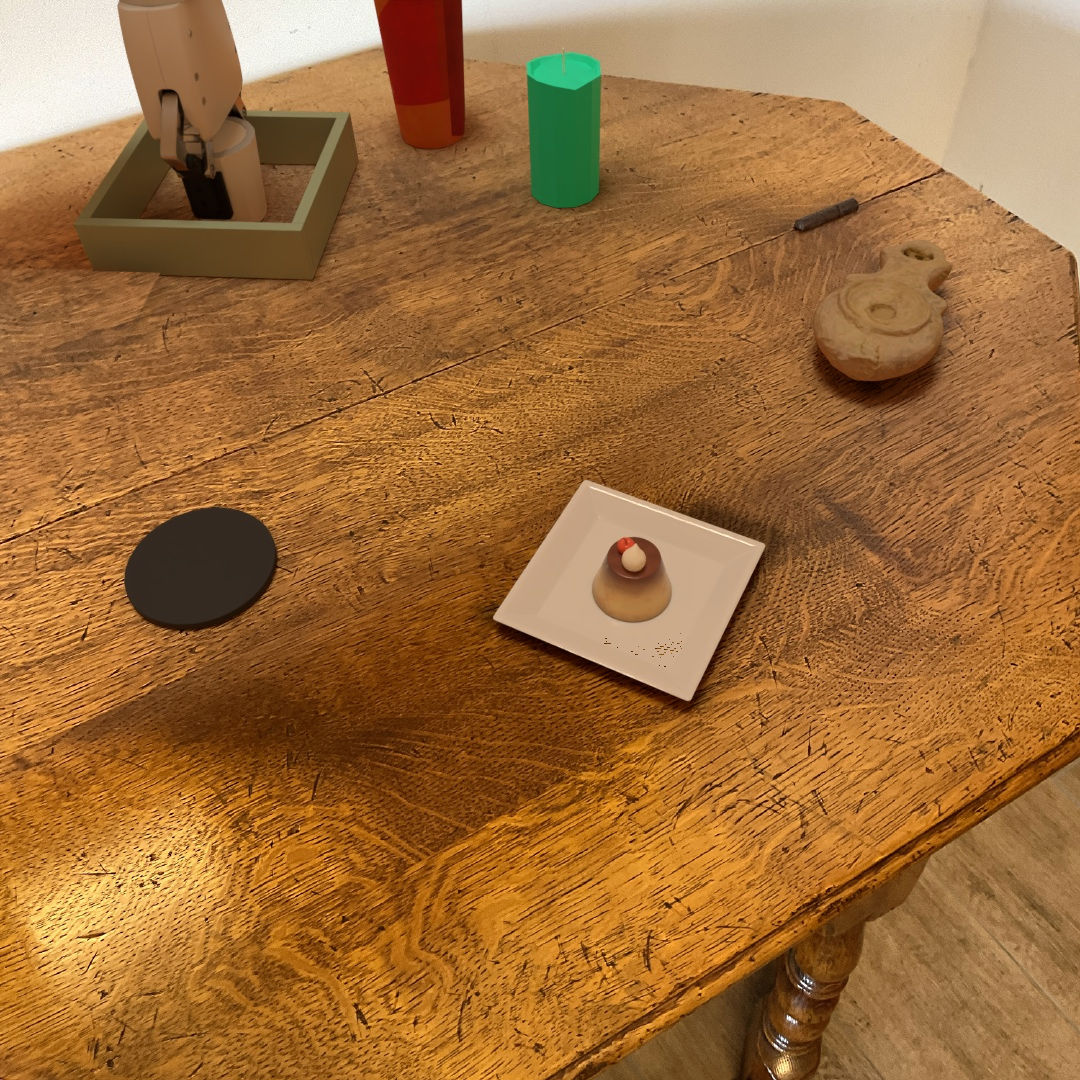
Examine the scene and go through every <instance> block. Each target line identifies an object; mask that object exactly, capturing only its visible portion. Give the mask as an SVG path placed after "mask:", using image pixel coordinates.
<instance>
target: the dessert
mask: <svg viewBox="0 0 1080 1080" xmlns="http://www.w3.org/2000/svg"><path fill="white" fill-rule="evenodd" d="M765 548H766V544H765V543H764V542H761V541H758V540H755V539H753V538H750V537H747V536H744V535H742V534H738V533H737V532H734V531H730V530H727V529H725V528H722V527H719V526H717V525H714V524H711V523H709V522H705V521H703V520H699V519H697V518H694V517H692V516H689V515H687V514H683V513H680V512H677V511H674V510H672V509H670V508H666V507H664V506H660V505H658V504H655V503H653V502H650V501H647V500H644V499H641V498H639V497H636V496H633V495H631V494H627V493H626V492H625V493H624V492H621V491H619V490H616V489H614V488H611V487H608V486H606V485H602V484H600V483H597V482H594V481H591V480H589V479H584V480H583V481H582V482H581V484H580V486H579V487H578V488H577V490H576V491H575V493H574V495H572V498H571V499H570V500H569V502H568V504H567V505H566V506H565V508H564V509H563V511H562V512H561V514H560V515H559V516H558V518H557V520H556V521H555V523H554V524H553V526H552V527H551V529H550V530H549V532H548V534H547V535H546V536H545V538H544V539H543V541H542V542H541V544H540V545H539V547H538V548H537V550H536V552H534V554H533V556H532V557H531V559H530V560H529V562H528V564H527V565H526V566H525V568H524V569H523V571H522V572H521V574H520V576H519V577H518V578H517V580H516V582H515V583H514V585H513V586H512V587H511V588H510V590H509V592H508V594H507V595H506V597H505V598H504V600H503V601H502V603H500V606H499V607H498V609H497V610H496V612H495V613H494V615H493V616H492V619H493V620H494V621H496V622H498V623H501V624H503V625H505V626H508V627H510V628H513V629H515V630H517V631H519V632H522V633H525V634H527V635H529V636H532V637H534V638H536V639H538V640H541V641H543V642H545V643H548V644H550V645H553V646H556V647H558V648H559V649H562V650H565V651H567V652H570V653H572V654H574V655H576V656H580V657H582V658H584V659H586V660H588V661H591V662H594V663H596V664H597V665H601V666H603V667H605V668H607V669H610V670H613V671H615V672H617V673H619V674H622V675H624V676H626V677H629V678H631V679H634V680H636V681H639V682H641V683H643V684H646V685H648V686H651V687H653V688H655V689H657V690H659V691H662V692H664V693H667V694H669V695H672V696H674V697H676V698H679V699H682V700H684V701H686V702H690V701H691V700H692V699H693V696H694V694H695V692H696V690H697V688H698V687H699V684H700V682H701V680H702V678H703V676H704V674H705V671H706V670H707V668H708V665H709V664H710V662H711V659H712V658H713V655H714V653H715V651H716V649H717V648H718V645H719V643H720V641H721V639H722V636H723V635H724V632H725V631H726V628H727V626H728V624H729V623H730V620H731V618H732V616H733V614H734V612H735V609H736V608H737V606H738V604H739V602H740V599H741V597H742V595H743V593H744V591H745V589H746V587H747V585H748V583H749V581H750V579H751V576H753V575H752V574H753V572H754V570H755V569H756V566H757V564H758V563H759V561H760V559H761V557H762V554H763V552H764V550H765ZM680 633H681V634H680ZM605 638H607V639H605ZM669 639H670V640H669ZM606 641H607V642H606ZM681 641H682V642H681ZM672 642H674V643H672ZM604 643H611V644H604ZM658 643H659V644H658ZM677 643H680V644H677ZM665 644H666V645H665ZM671 644H672V645H671ZM638 646H639V647H638ZM660 646H664V647H660ZM680 646H681V647H680ZM617 647H618V648H617ZM667 647H670V648H667ZM655 648H661V649H655ZM674 648H676V649H674ZM681 648H682V649H681ZM643 649H645V650H643ZM664 649H668V650H664ZM670 650H674V651H670ZM631 651H633V652H631ZM657 651H659V652H657ZM676 651H678V652H676ZM664 652H666V653H664ZM671 653H672V654H671ZM635 654H638V655H635ZM659 654H664V655H659ZM652 656H654V657H652ZM673 656H674V657H673ZM660 657H661V658H660ZM659 665H660V666H659ZM664 666H666V667H664Z"/></svg>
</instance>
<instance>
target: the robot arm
mask: <svg viewBox="0 0 1080 1080" xmlns="http://www.w3.org/2000/svg"><path fill="white" fill-rule="evenodd" d="M224 5H225V4H224V3H223V0H118V3H117V5H116V7H117V13H118V19H119V25H120V31H121V37H122V41H123V45H124V50H125V54H126V58H127V62H128V65H129V66H128V67H129V70H130V74H131V77H132V80H133V84H134V87H135V91H136V94H137V97H138V98H137V99H138V101H139V104H140V108H141V111H142V114H143V119H144V118H145V121H146V124H147V127H148V129H149V132H150V134H151V136H152V137H153V138H154V139H155V140H157V141H160V155H161V158H162V159H163V160H164V161H165V162H166V163H168V164H169V165H170V168H171V170H173V172H175V174H176V176H177V177H178V178H179V179H181V182H182V185H183V188H184V191H185V193H186V197H187V200H188V202H189V206H190V209H191V211H192V215H193V217H194V218H196V219H198V220H201V219H214V220H230V219H231V218H232V216H233V214H234V212H233V209H232V205H231V202H230V199H229V195H228V192H227V189H226V185H225V182H224V179H223V175H222V172H221V171H216V168H215V159H214V150H213V141H212V138H213V137H214V136H215V135H216V133H217V132H218V131H219V129H220V127H221V126H222V124H223V123H224V121H225V119H226V117H227V116H228V117H237V118H240V119H242V120H246V119H247V110H248V109H247V107H246V105H245V103H244V101H243V99H242V90H243V80H244V79H243V73H242V72H243V71H242V67H241V62H240V57H239V54H238V49H237V46H236V41H235V38H234V35H233V31H232V28H231V24H230V21H229V18H228V14H227V12H226V8H225V6H224ZM184 125H189V126H193V127H194V128H198V130H199V133H200V134H184ZM185 142H186V143H200V146H201V154H202V159H200V158H199V157H197V156H196V155H194V154H189V153H188V151H187V150H186V145H185Z"/></svg>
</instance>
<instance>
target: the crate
mask: <svg viewBox="0 0 1080 1080" xmlns="http://www.w3.org/2000/svg"><path fill="white" fill-rule="evenodd" d="M246 110H247V119H246V120H245V121H248V122H249V123H250V124H251V125H252V126H253V127H254V130H255V136H256V142H257V148H258V155H259V161H260V164H263V163H264V164H263V165H265V164H267V165H268V164H271V165H274V164H275V165H308V166H309V165H311V166H312V165H313V166H314V165H315V166H314V169H313V172H312V175H311V176H310V179H309V182H308V184H307V186H306V187H305V190H304V193H303V195H302V197H301V200H300V202H299V204H298V206H297V209H296V212H295V214H294V215H293V219H292V221H291V222H266V221H265V222H264V221H263V222H261V221H260V222H230V221H201V220H189V219H188V220H186V219H185V220H184V219H153V218H152V219H151V218H150V219H149V218H147V219H146V218H141V216H143V215H142V214H144V212H145V209H146V208H147V206H148V205H149V203H150V201H151V200H152V199H153V196H154V194H155V193H156V191H157V190H158V188H159V186H160V185H161V183H162V181H163V180H164V179H165V176H166V175H167V173H168V172H169V170H170V168H171V166H170V165H169V164H168V163H166V162H165V161H164V160H163V159H162V158H161V155H160V141H157V140H155V139H154V138H153V137H152V136H151V134H150V132H149V129H148V127H147V124H146V121H145V118H144V117H143V119H142V121H141V123H140V124H139V125H138V127H137V128H136V130H134V131H135V132H134V133H133V134H132V136H131V137H130V138H129V140H128V142H127V143H126V145H125V146H124V148H123V149H122V151H121V152H120V153H119V155H118V156H117V158H116V159H115V162H113V164H112V166H111V167H110V168H109V170H108V172H107V173H106V175H105V176H104V178H103V179H102V181H101V182H100V184H99V185H98V186H97V188H96V190H95V191H94V193H92V196H91V197H90V199H89V200H88V201H87V202H86V205H85V206H84V207H83V208H82V210H81V211H80V213H79V215H78V216H77V218H76V220H75V221H74V222H73V227H74V230H75V232H76V234H77V236H78V238H79V241H80V243H81V245H82V247H83V250H84V253H85V255H86V257H87V260H88V262H89V263H90V266H91V268H92V271H94V272H117V273H118V272H119V273H151V274H152V273H153V274H154V273H155V274H159V275H158V276H173V277H174V276H176V277H177V276H178V277H207V278H209V277H210V278H214V277H215V278H236V279H237V278H241V279H243V278H244V279H274V280H304V281H307V280H309V281H313V280H314V277H315V274H316V272H317V269H318V267H319V265H320V262H321V260H322V257H323V254H324V251H325V249H326V246H327V244H328V241H329V238H330V235H331V233H332V230H333V228H334V225H335V223H336V220H337V218H338V215H339V212H340V209H341V207H342V204H343V202H344V199H345V196H346V193H347V192H348V188H349V185H350V183H351V181H352V178H353V176H354V173H355V170H356V167H357V165H358V162H359V155H358V149H357V143H356V138H355V133H354V127H353V123H352V116H351V112H350V111H311V110H309V111H308V110H307V111H304V110H302V111H301V110H299V111H298V110H292V111H291V110H253V109H252V110H251V109H246Z"/></svg>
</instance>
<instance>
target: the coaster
mask: <svg viewBox="0 0 1080 1080" xmlns="http://www.w3.org/2000/svg"><path fill="white" fill-rule="evenodd" d="M277 565H278V549H277V546H276V543H275V540H274V537H273V535H272V533H271V531H270V530H269V529H268V527H267V525H265V524H264V523H263V522H262V521H261V520H260V519H259V518H256V516H255V515H252V514H250V513H248V512H245V511H242V510H241V509H235V508H229V507H217V506H216V507H215V506H214V507H204V508H199V509H193V510H190V511H187V512H183V513H180V514H177V515H176V516H174V517H171V518H169V519H167V520H165V521H164V522H162V523H160V524H159V525H158V526H156V527H155V528H152V530H150V532H149V533H147V534H146V535H145V536H144V537H143V538H142V539H141V540H140V542H139V543H137V545H136V546H135V548H134V549H133V551H132V552H131V555H130V556H129V557H128V560H127V563H126V565H125V570H124V576H123V577H124V578H123V579H124V581H123V584H124V589H125V593H126V596H127V598H128V600H129V602H130V603H131V605H132V607H133V608H134V609H135V611H136V612H137V613H138V614H139V615H140V616H141V617H142V618H144V619H145V620H146V621H149V622H150V623H152V624H154V625H157V626H159V627H164V628H167V629H172V630H180V631H181V630H183V631H184V630H185V631H187V630H191V631H192V630H199V629H205V628H209V627H212V626H216V625H219V624H222V623H224V622H226V621H227V622H228V621H229V620H231V619H233V618H235V617H237V616H239V615H241V614H242V613H243V612H245V611H247V609H249V608H250V607H251V606H252V605H254V604H255V603H256V602H257V601H258V600H259V599H260V598H261V597H262V596H263V595H264V593H265V592H266V590H267V589H268V588H269V586H270V585H271V582H272V580H273V578H274V575H275V573H276V570H277Z"/></svg>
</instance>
